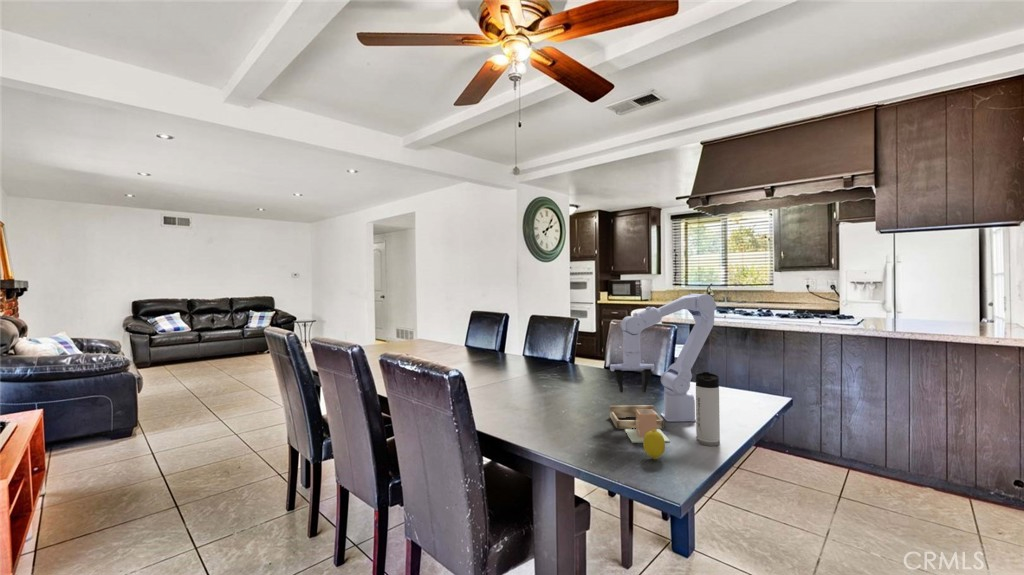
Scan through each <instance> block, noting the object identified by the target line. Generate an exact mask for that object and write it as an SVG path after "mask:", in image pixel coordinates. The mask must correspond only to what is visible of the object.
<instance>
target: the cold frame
mask: <svg viewBox="0 0 1024 575" xmlns="http://www.w3.org/2000/svg"><path fill="white" fill-rule="evenodd" d="M636 409H652V410H653V411H654V412H655V413H656V416H657V429H665V419H664V418H663V417H661V416H660V415H659V414H658V413H657V411H655V405H653V404H652V405H649V404H647V405H646V404H645V405H644V404H642V405H641V404H640V405H639V404H638V405H610V406H609V417H610V419H611V421H612V422H613V424H614V426H615V428H616V429H617V430H622V429H623V430H625V429H632V428H633V429H635V428H636V419H630V420H629V419H626V417H636ZM619 418H620V419H619ZM623 418H624V419H623ZM622 419H623V420H622Z"/></svg>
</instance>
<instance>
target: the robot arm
mask: <svg viewBox="0 0 1024 575" xmlns="http://www.w3.org/2000/svg"><path fill="white" fill-rule="evenodd" d="M717 307H718V306H717V303H716V301H715V299H714V297H713V296H712V295H710V294H708V293H702V294H701V293H700V294H699V293H689V294H687V295H683V296H680V297H678V298H676V299H675V300H673V301H670V302H668V303H667V304H664V305H662V306H660V307H658V308H657V307H654V306H647V307H645V309H644V310H642V311H640V312H634V313H632V315H631V316H630V315H627V316H625V317H624V318H622V320H621V323H620V324H619V327H620V329H621V330H622V342H623V343H622V352H623V354H622V357H623V358H622V359H623V360H622V361H623V363H616V364H615V363H614V364H612V363H611V364H610V365H609V370H610V371H611V372H613V374H614V377H615V379H616V381H617V384H618V389H619V390H618V391H619V392H620V393H621V394H622V393H624V386H623V384H624V382H623V378H624V373H623V371H640V372H641V391H642V392H643V393H646V392H647V386H648V383H649V380H650V379H651V377H652V375H653V372H654V371H655V364H653V363H642V360H641V358H642V357H641V356H642V355H641V354H642V353H641V333H642V331H643V330H645V329H647V328H650V327H651V326H655V325H656V324H659V323H661V320H662V318H664V317H667V316H669V315H672V314H674V313H677V312H680V311H682V310H687V311H688V312H689V313H690V315H691V316H692V318H693V320H694V322H695V323H694V325H693V327H692V329H691V330H690V333H689V335H688V336H687V339H686V340H685V343H684V345H683V346H682V349H681V351H680V352H679V353H678V354H679V355H678V357H677V358H676V360H675V362H674V363H672V364H671V365H669V366H668V369H667V370H665V371H664V372H663V373H661V376H660V382H661V384H662V386H663V388H664V389H663V397H664V399H663V400H664V403H663V404H664V408H663V409H664V410H663V411H664V412H661V413H660V415H661V416H662V418H663V419H664V420H665V421H666V422H672V423H673V422H674V423H675V422H696V399H695V396H694V394H693V393H692V392H689V391H690V387H691V381H692V378H693V374H692V369H693V366H694V364H695V362H696V360H697V358H698V356H699V354H700V352H701V351H702V348H703V347H704V344H705V343H706V341H707V339H708V336H709V335H710V332H711V331H712V329H713V326H714V324H715V311H716V310H717Z"/></svg>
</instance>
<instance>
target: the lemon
mask: <svg viewBox="0 0 1024 575" xmlns="http://www.w3.org/2000/svg"><path fill="white" fill-rule="evenodd" d="M642 445H643V450H644V451H645V453H646V454H647V456H648V457H650V458H652V459H653V460H657V458H660V457H662V456H663V454H664V453H665V451H666V442H665V441H664V438H663V436H662V435H661V433H659V432H658V431H656V430H654V429H653V430H652V431H649V432H647V433H646V435H645V437H644V441H643V444H642Z"/></svg>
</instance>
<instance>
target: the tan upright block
mask: <svg viewBox="0 0 1024 575" xmlns="http://www.w3.org/2000/svg"><path fill="white" fill-rule="evenodd" d="M654 411H655V410H654ZM654 411H653V410H652V409H636V418H635V420H636V432H637V434H638V435H639V437H645V435H646V433H647V432H649V431H652V430H653V429H654V430H656V431H657V429H658V428H657V416H656V413H657V412H656V411H655V412H656V413H655V412H654Z"/></svg>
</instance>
